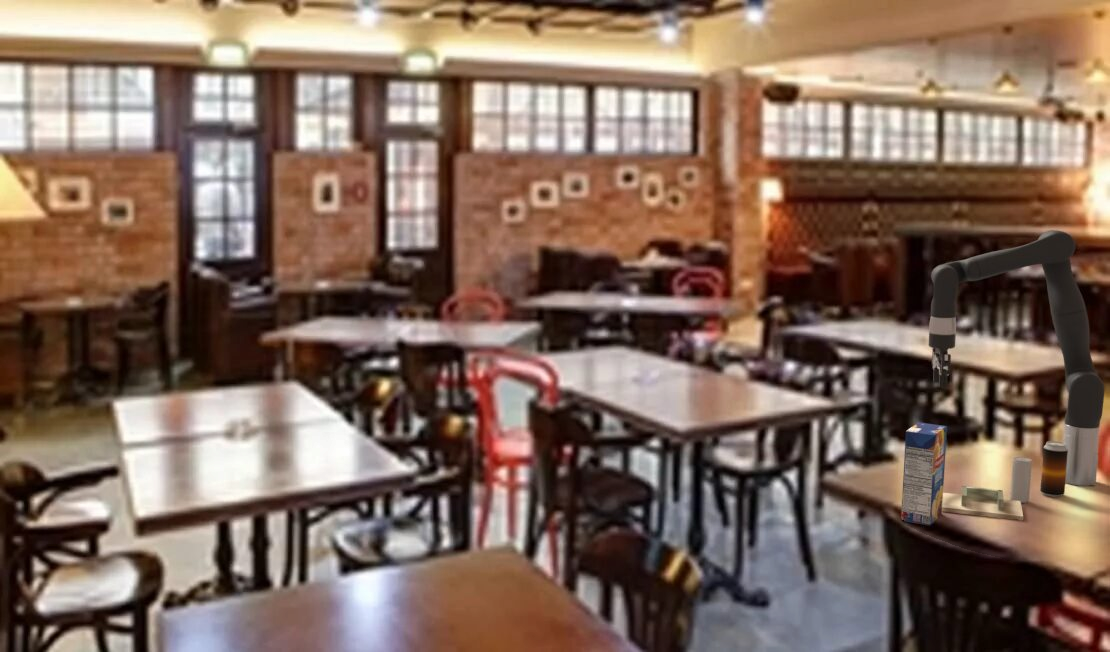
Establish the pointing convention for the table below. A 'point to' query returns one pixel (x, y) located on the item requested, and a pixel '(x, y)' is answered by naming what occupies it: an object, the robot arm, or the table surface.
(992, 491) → the rest
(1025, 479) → the white cylinder
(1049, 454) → the beverage can
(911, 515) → the juice carton
